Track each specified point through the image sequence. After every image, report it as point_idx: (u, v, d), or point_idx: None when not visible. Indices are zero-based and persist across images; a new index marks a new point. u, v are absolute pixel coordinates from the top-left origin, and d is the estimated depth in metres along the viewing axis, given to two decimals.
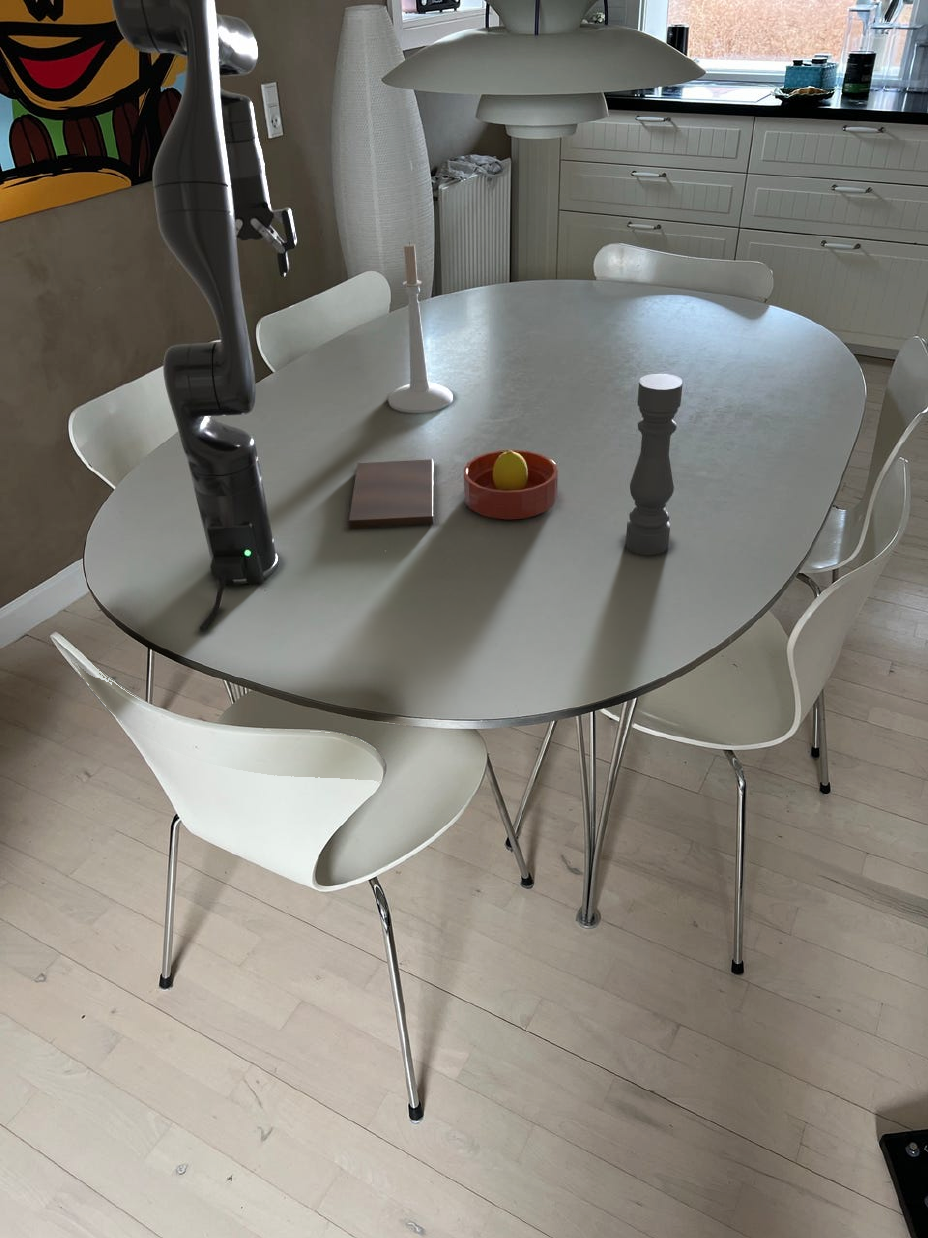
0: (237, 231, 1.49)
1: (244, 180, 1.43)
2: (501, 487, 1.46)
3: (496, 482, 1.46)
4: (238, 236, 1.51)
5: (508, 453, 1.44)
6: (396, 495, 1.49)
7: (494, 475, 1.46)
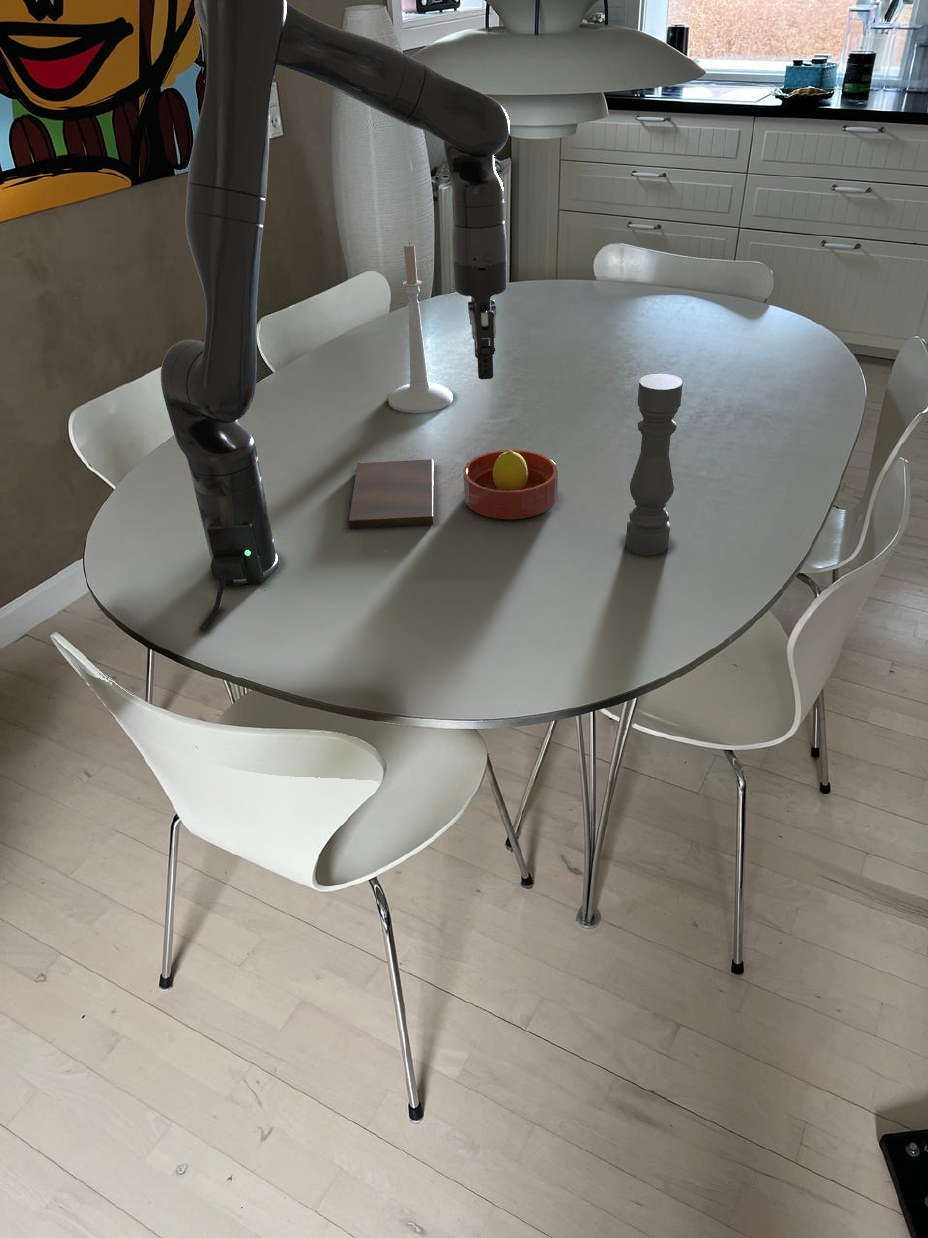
0: None
1: (455, 265, 1.30)
2: (501, 487, 1.46)
3: (496, 482, 1.46)
4: None
5: (508, 453, 1.44)
6: (396, 495, 1.49)
7: (494, 475, 1.46)
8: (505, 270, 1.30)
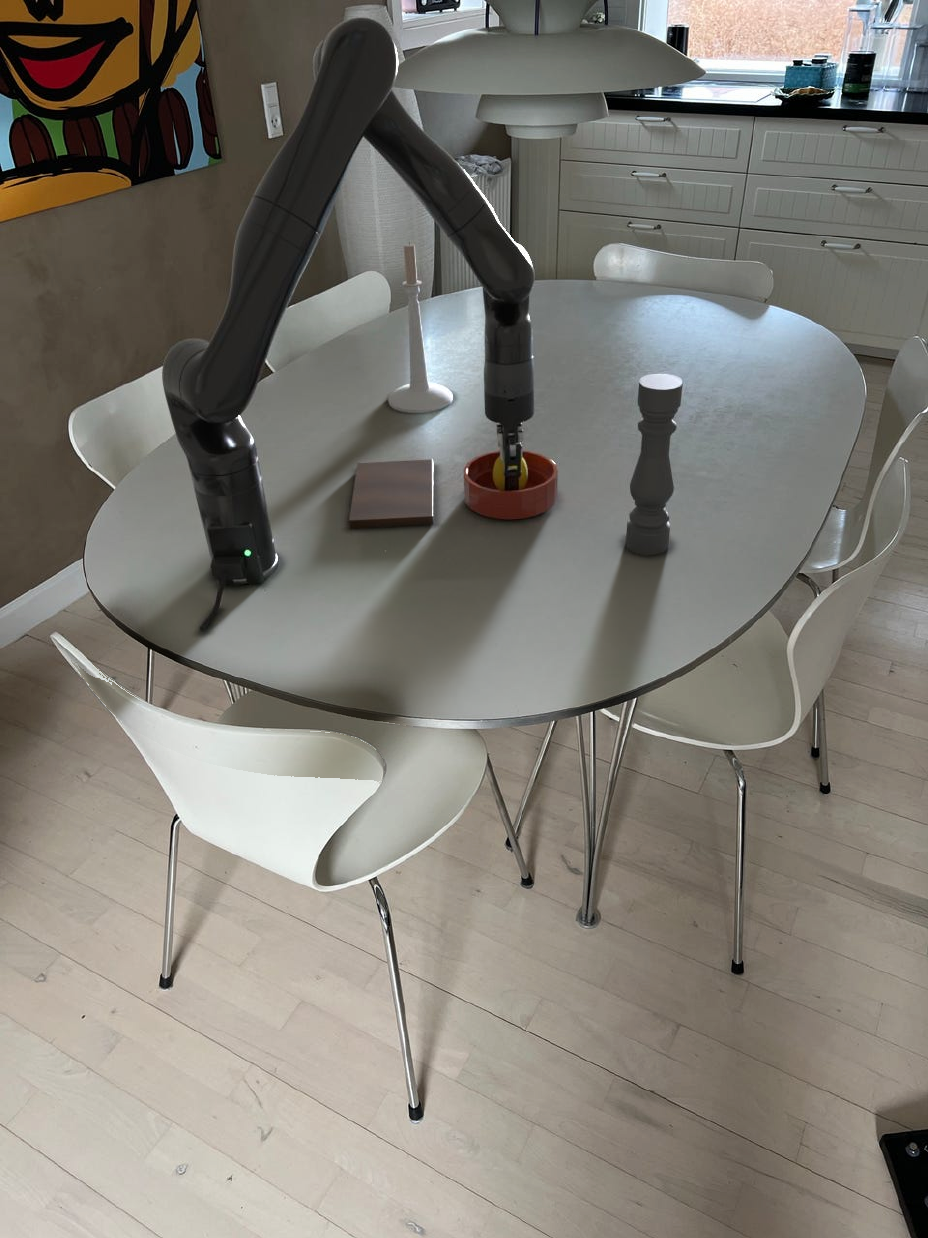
0: None
1: (485, 394, 1.38)
2: (501, 487, 1.46)
3: (496, 482, 1.46)
4: None
5: None
6: (396, 495, 1.49)
7: (494, 475, 1.46)
8: (532, 399, 1.38)
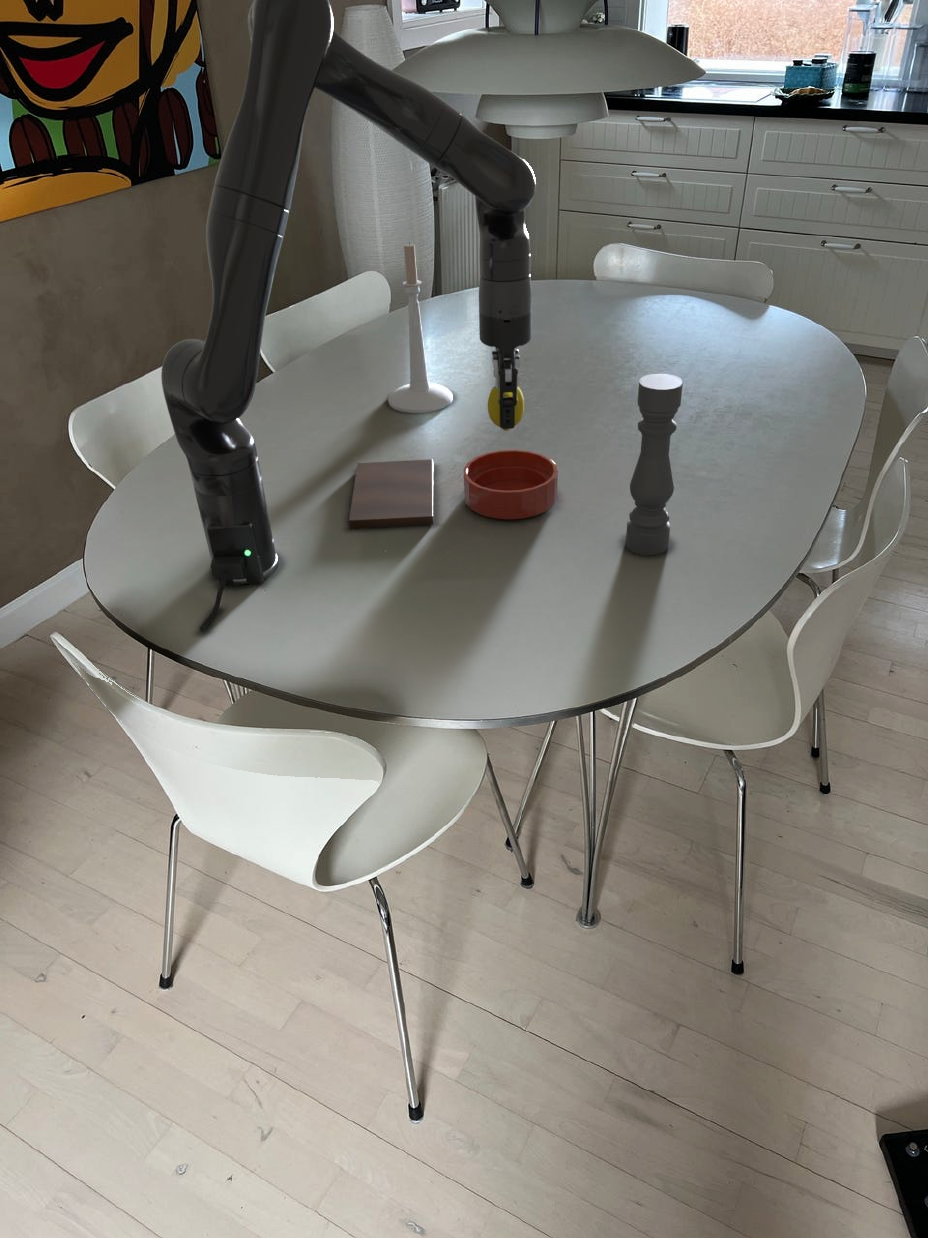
0: (493, 363, 1.38)
1: (480, 316, 1.31)
2: (496, 418, 1.39)
3: (491, 413, 1.39)
4: None
5: None
6: (396, 495, 1.49)
7: (489, 406, 1.39)
8: (530, 322, 1.31)
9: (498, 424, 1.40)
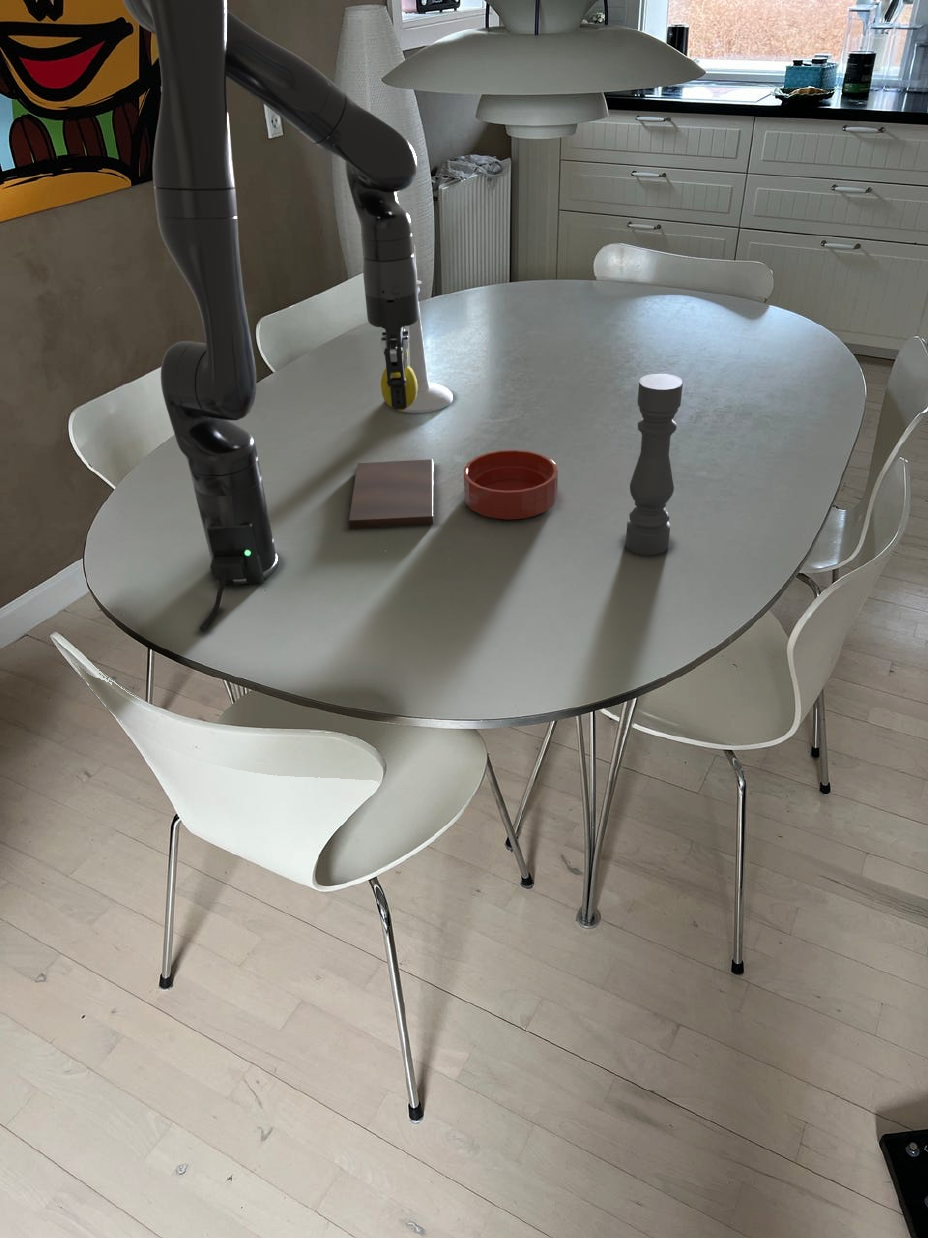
0: None
1: (365, 296, 1.32)
2: (389, 399, 1.39)
3: (383, 394, 1.40)
4: None
5: None
6: (396, 495, 1.49)
7: (381, 387, 1.40)
8: (415, 302, 1.32)
9: (391, 405, 1.40)
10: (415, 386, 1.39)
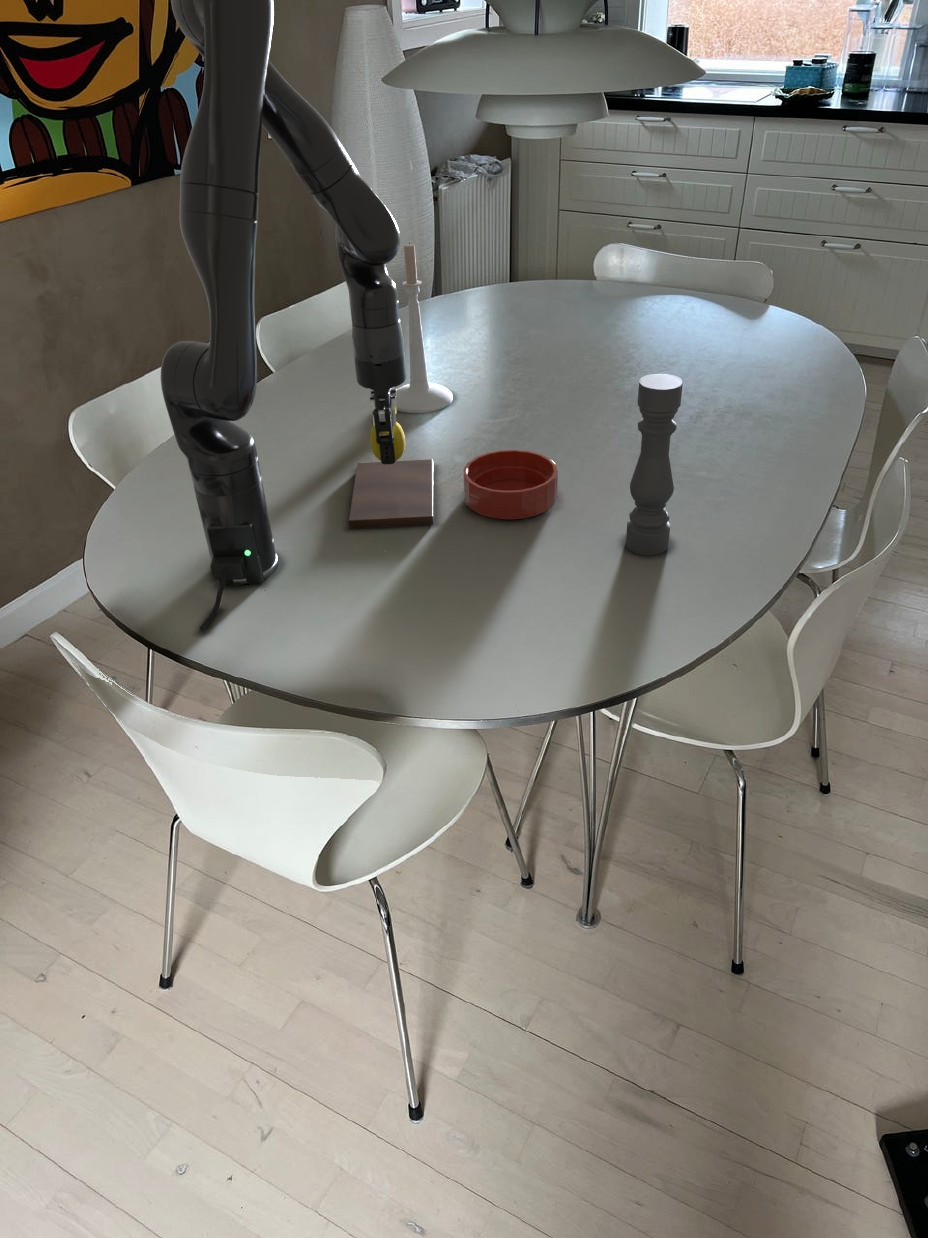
0: None
1: (354, 359, 1.38)
2: (378, 454, 1.45)
3: (373, 449, 1.46)
4: None
5: None
6: (396, 495, 1.49)
7: (371, 443, 1.46)
8: (402, 364, 1.38)
9: (380, 459, 1.46)
10: (403, 441, 1.46)
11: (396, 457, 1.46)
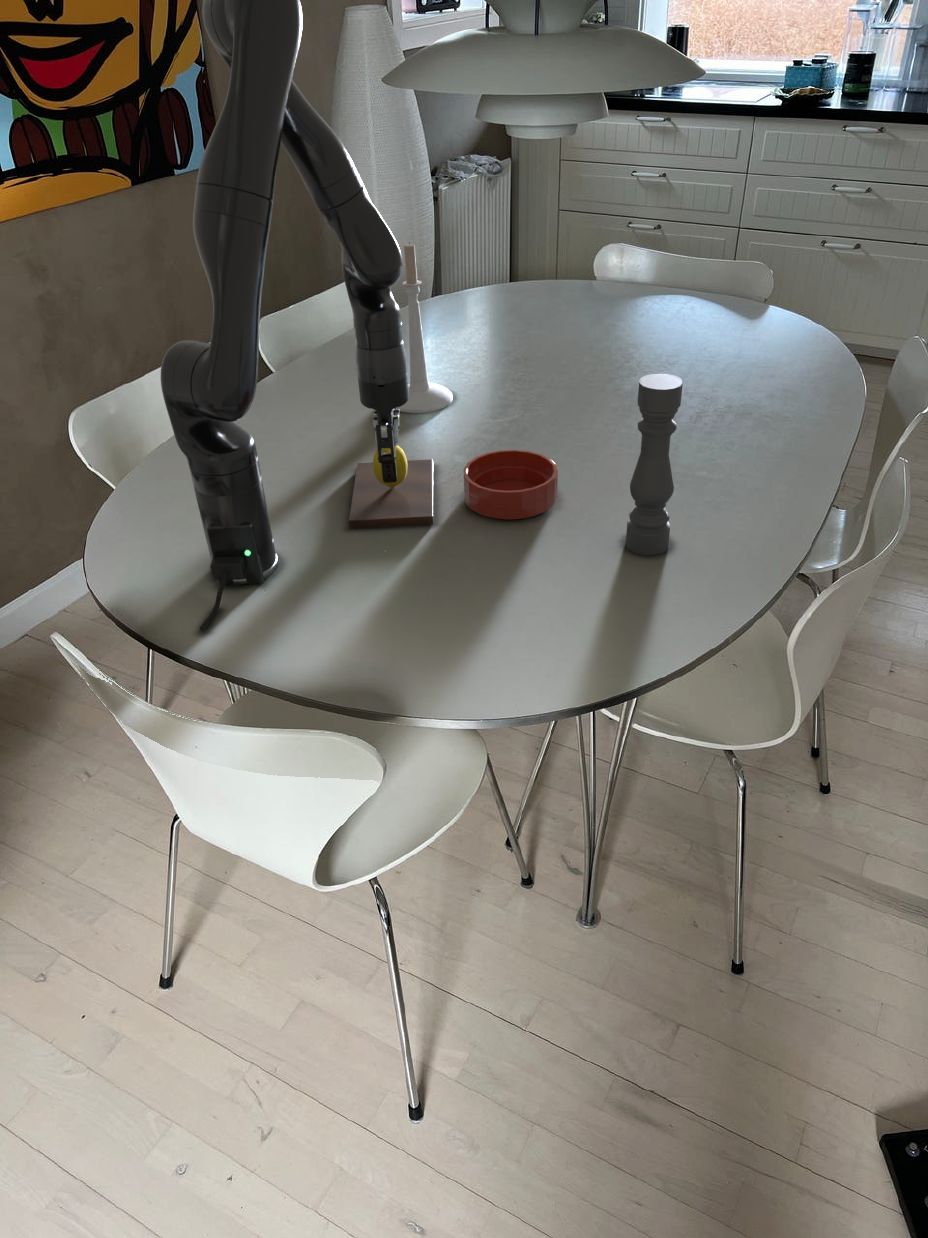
0: None
1: (358, 380, 1.39)
2: (381, 478, 1.48)
3: (376, 473, 1.48)
4: None
5: None
6: (396, 495, 1.49)
7: (373, 467, 1.48)
8: (405, 385, 1.39)
9: (383, 483, 1.49)
10: (405, 465, 1.48)
11: (398, 481, 1.48)
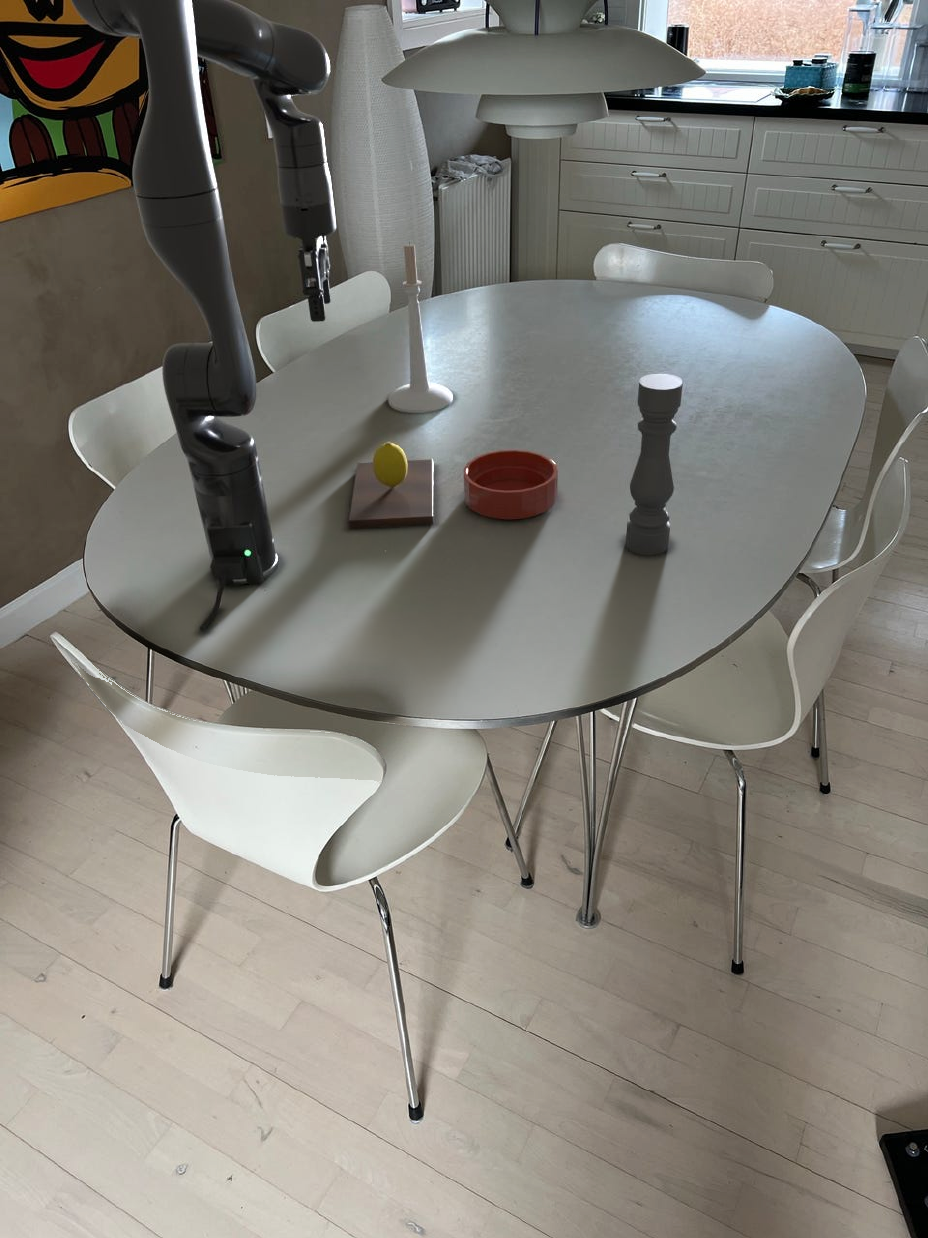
0: None
1: (281, 206, 1.32)
2: (381, 478, 1.48)
3: (376, 473, 1.48)
4: None
5: (386, 445, 1.46)
6: (396, 495, 1.49)
7: (373, 467, 1.48)
8: (331, 212, 1.33)
9: (383, 483, 1.49)
10: (405, 465, 1.48)
11: (398, 481, 1.48)
